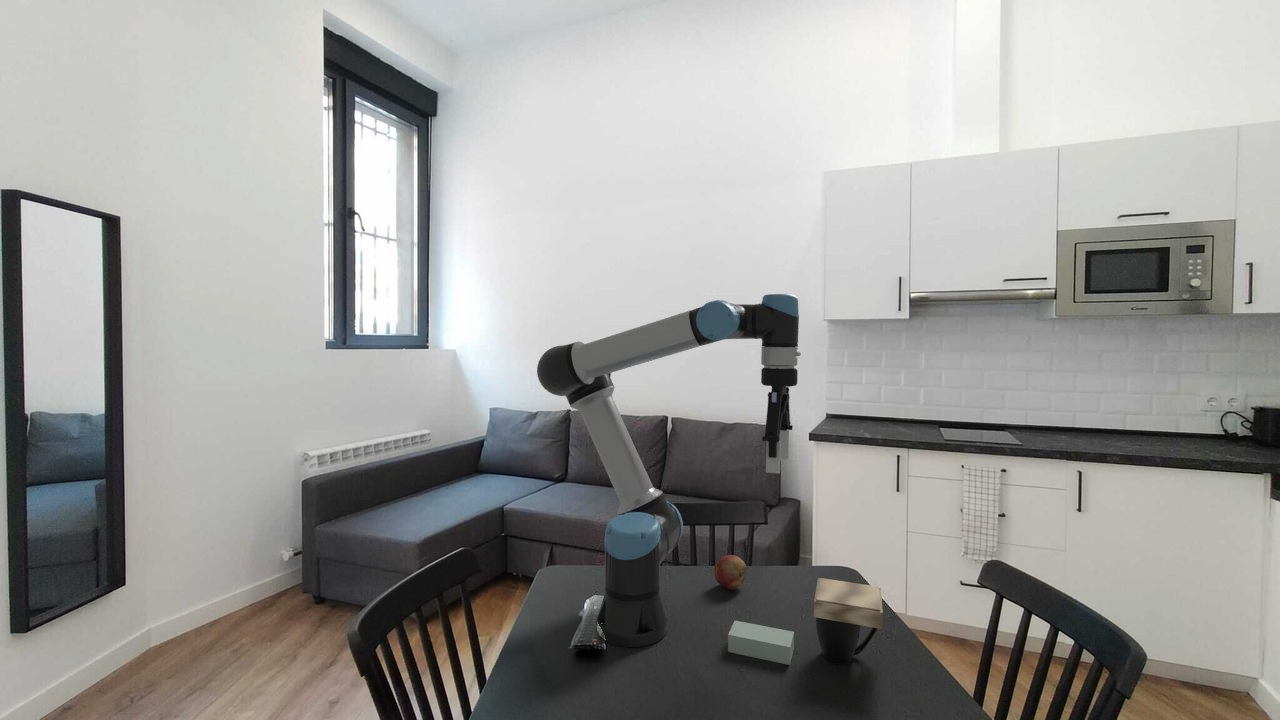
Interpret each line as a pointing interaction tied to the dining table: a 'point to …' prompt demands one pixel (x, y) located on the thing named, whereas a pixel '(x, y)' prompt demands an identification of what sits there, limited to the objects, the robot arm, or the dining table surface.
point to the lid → (848, 603)
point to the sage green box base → (761, 642)
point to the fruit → (730, 571)
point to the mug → (840, 640)
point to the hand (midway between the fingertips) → (777, 465)
